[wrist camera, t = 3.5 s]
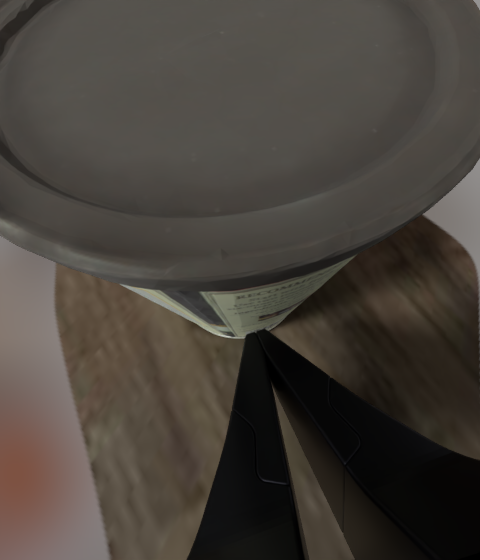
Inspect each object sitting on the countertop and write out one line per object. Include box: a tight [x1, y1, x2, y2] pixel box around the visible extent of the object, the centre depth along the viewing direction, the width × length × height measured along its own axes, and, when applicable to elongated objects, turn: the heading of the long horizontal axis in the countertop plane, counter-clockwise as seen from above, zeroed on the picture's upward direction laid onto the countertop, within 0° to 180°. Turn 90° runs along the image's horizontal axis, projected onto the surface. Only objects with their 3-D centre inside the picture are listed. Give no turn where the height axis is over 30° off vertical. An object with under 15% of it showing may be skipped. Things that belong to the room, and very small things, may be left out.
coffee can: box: [0, 0, 480, 339], centre depth 11 cm, size 10×10×14 cm
